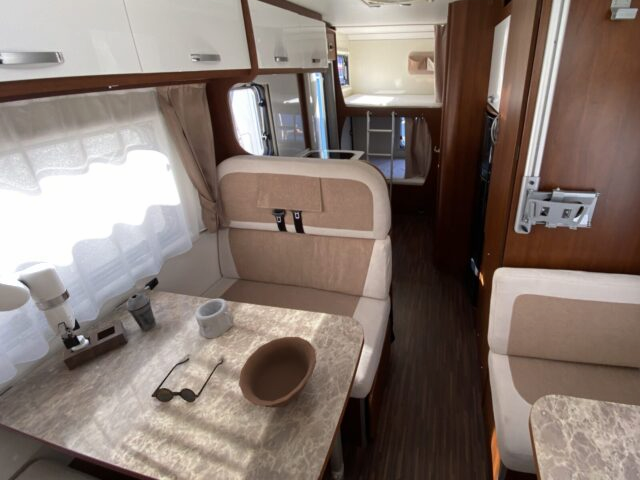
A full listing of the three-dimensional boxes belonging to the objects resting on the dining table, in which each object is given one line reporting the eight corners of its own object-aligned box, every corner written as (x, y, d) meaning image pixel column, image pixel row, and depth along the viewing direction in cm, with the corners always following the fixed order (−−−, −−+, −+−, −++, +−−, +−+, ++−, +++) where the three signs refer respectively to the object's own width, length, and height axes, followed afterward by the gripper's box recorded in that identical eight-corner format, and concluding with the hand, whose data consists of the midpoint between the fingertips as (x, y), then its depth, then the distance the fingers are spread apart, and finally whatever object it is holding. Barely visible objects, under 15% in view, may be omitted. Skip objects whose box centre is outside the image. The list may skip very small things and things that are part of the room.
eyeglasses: (154, 402, 92) (148, 391, 90) (186, 358, 105) (181, 348, 103) (200, 403, 91) (195, 392, 89) (226, 359, 104) (222, 348, 103)
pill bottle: (75, 358, 107) (65, 342, 104) (89, 348, 111) (80, 332, 108) (82, 362, 106) (72, 346, 103) (97, 351, 110) (88, 336, 107)
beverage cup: (133, 331, 118) (113, 290, 110) (152, 317, 124) (134, 278, 116) (145, 336, 115) (125, 295, 108) (164, 322, 121) (146, 282, 114)
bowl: (296, 439, 81) (289, 413, 76) (230, 416, 87) (220, 391, 83) (332, 366, 100) (328, 342, 96) (276, 351, 106) (270, 328, 102)
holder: (69, 370, 103) (63, 360, 101) (70, 354, 109) (64, 344, 107) (127, 342, 113) (122, 332, 111) (125, 329, 119) (120, 319, 117)
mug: (195, 336, 114) (187, 316, 110) (215, 315, 124) (209, 296, 120) (226, 342, 111) (219, 321, 107) (244, 319, 121) (238, 300, 117)
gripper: (38, 292, 102) (60, 330, 109) (33, 319, 90) (57, 360, 97) (69, 282, 107) (88, 319, 113) (67, 306, 95) (89, 346, 101)
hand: (74, 338), depth 105 cm, fingers open, 9 cm apart
